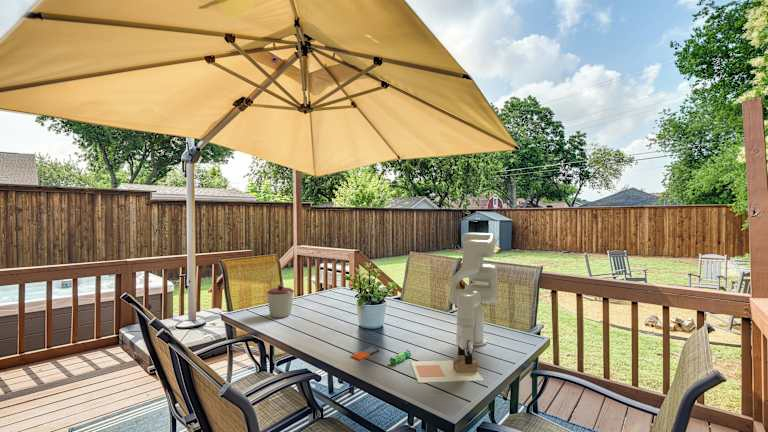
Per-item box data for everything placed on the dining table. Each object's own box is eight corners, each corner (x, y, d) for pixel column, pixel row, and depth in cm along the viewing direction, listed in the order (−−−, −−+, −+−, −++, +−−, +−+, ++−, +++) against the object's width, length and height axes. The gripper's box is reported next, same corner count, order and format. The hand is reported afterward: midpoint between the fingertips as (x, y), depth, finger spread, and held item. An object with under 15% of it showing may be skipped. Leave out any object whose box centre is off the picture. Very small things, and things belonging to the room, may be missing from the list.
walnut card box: (453, 367, 159) (453, 357, 159) (472, 366, 160) (472, 356, 159) (457, 373, 153) (457, 362, 153) (477, 372, 154) (477, 362, 153)
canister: (273, 311, 246) (273, 281, 245) (298, 312, 243) (298, 282, 243) (261, 319, 228) (261, 287, 227) (287, 320, 225) (287, 288, 225)
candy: (403, 353, 172) (407, 347, 171) (408, 359, 171) (412, 353, 169) (388, 361, 163) (392, 355, 162) (393, 367, 161) (397, 361, 160)
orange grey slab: (349, 355, 170) (370, 346, 181) (349, 358, 170) (370, 348, 181) (359, 359, 165) (379, 349, 177) (359, 362, 165) (379, 352, 177)
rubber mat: (410, 362, 164) (410, 361, 164) (468, 360, 167) (468, 359, 167) (418, 383, 144) (418, 382, 144) (484, 380, 147) (484, 379, 147)
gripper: (451, 315, 164) (451, 352, 164) (463, 327, 147) (462, 368, 147) (467, 315, 165) (466, 352, 164) (480, 327, 147) (480, 367, 147)
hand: (464, 359), depth 155 cm, fingers open, 9 cm apart
